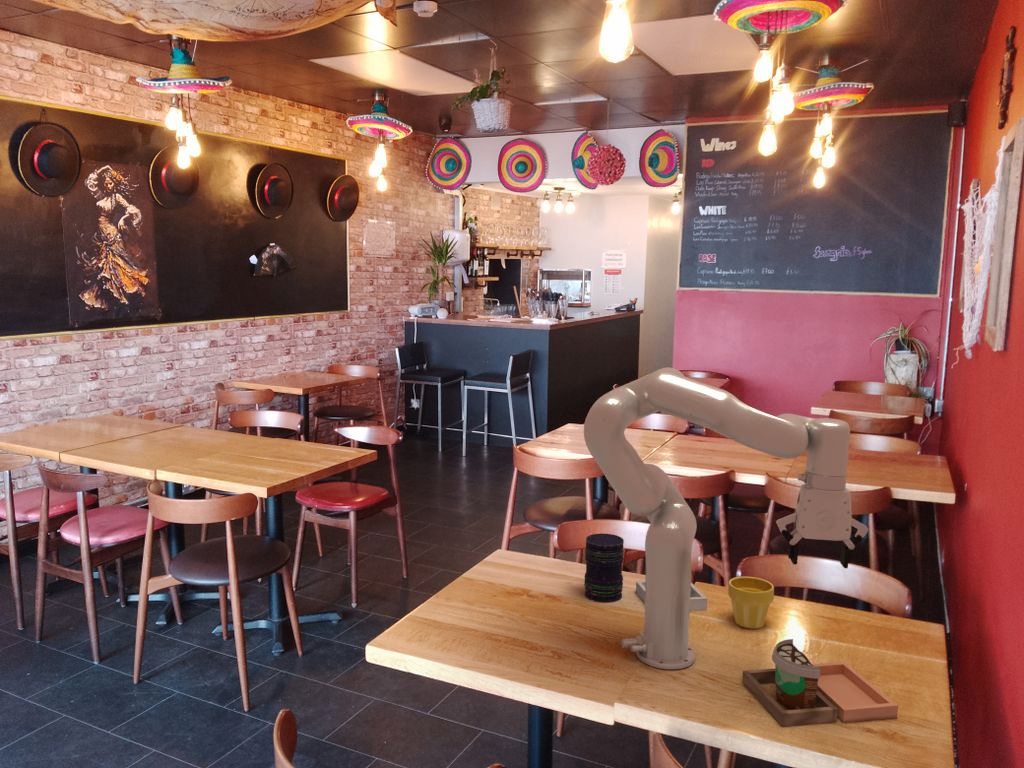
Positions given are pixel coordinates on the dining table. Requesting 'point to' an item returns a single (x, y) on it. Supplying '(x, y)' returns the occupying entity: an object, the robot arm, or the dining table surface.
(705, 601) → the grey parts rim
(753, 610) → the plant pot
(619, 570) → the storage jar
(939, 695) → the dining table surface
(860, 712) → the terracotta tray
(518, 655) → the dining table surface
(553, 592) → the dining table surface
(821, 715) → the walnut stand frame
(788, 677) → the food container
